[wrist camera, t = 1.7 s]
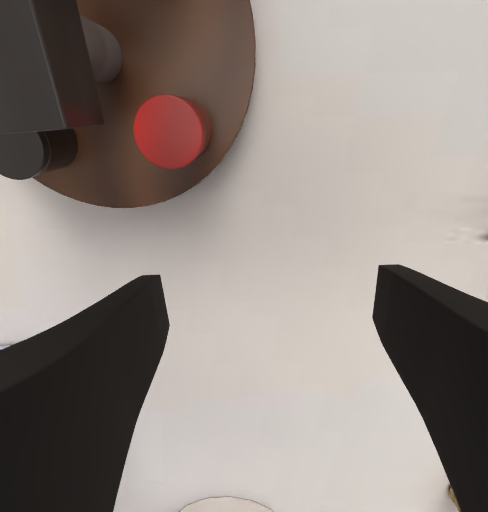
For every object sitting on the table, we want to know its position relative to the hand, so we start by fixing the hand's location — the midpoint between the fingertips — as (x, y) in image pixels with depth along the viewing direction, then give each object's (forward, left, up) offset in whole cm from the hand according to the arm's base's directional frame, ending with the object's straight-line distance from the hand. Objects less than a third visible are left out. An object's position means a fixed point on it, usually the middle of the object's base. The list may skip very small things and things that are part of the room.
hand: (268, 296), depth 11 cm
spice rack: (-7, +9, -9) cm, 15 cm away
